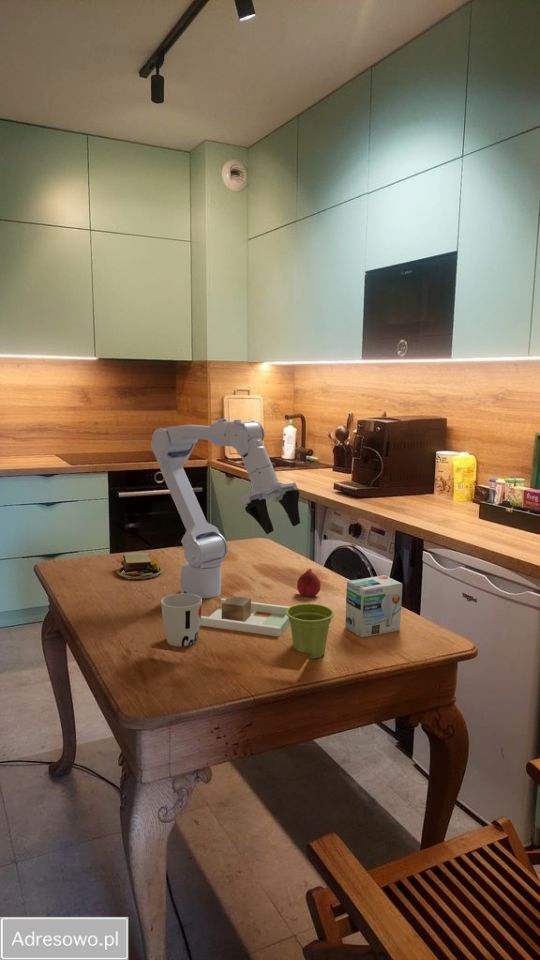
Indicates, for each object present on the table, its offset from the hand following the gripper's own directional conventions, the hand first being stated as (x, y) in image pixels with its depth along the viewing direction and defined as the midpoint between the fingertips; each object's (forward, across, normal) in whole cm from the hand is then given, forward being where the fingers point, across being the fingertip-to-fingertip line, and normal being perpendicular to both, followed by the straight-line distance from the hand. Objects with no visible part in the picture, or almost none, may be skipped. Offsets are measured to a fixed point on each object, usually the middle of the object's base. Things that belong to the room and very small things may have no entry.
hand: (283, 528), depth 139 cm
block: (+14, -10, +16) cm, 23 cm away
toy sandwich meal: (-8, -9, +57) cm, 58 cm away
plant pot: (+26, -7, -2) cm, 27 cm away
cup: (+16, -26, +13) cm, 33 cm away
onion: (+16, +14, +19) cm, 29 cm away
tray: (+16, -8, +14) cm, 23 cm away
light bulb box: (+27, +12, 0) cm, 30 cm away
